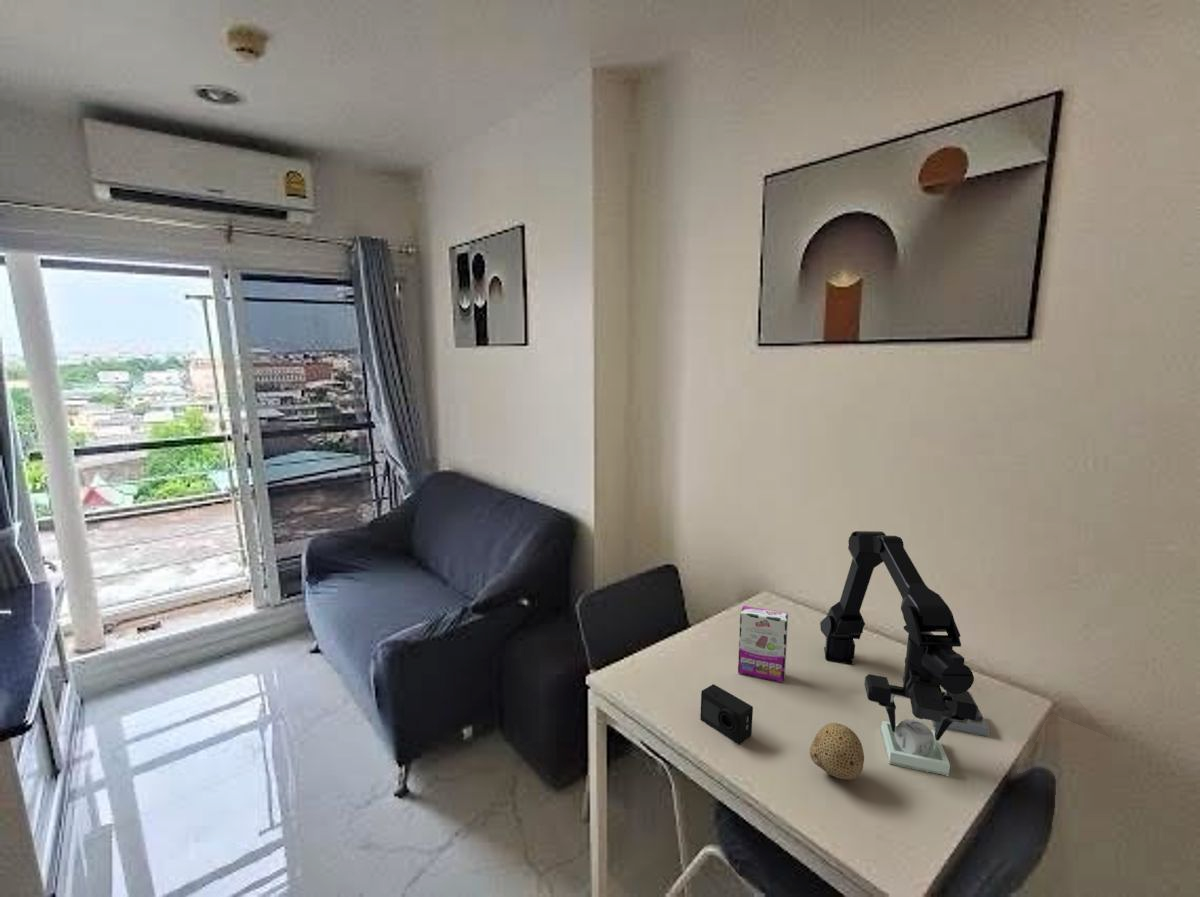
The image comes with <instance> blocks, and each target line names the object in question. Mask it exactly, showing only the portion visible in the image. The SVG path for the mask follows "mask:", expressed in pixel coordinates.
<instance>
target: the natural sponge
mask: <svg viewBox="0 0 1200 897" xmlns="http://www.w3.org/2000/svg"><path fill="white" fill-rule="evenodd" d="M809 755H810V758H811V761H812V762H813V764H815V765H816V766H817V767H818V768H820V769H821V770H823V771H825V773H826V774H829V775H830V776H832V777H833V778H838V779H841V780H842V779H843V780H854V779H857V778H858V777H859V776H860V775H861V774H862V773H863V771H864V762H865V754H864V749H863V745H862V742H861V740H860V738H859V736H858V735H856V733H855V732H854V731H853V730H852V729H851V728H850V727H848V726H847V725H844V724H841V723H838V722H830V723H827V724H825V725H823V727H821V728H820V729H819V730H818V731H817V733H816V735H815V737H814V739H813V741H812V743H811V746H810V748H809Z"/></svg>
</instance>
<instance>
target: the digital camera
mask: <svg viewBox="0 0 1200 897" xmlns="http://www.w3.org/2000/svg"><path fill="white" fill-rule="evenodd" d="M753 713H754V707H753V705H750V704H749V703H747V702H746V701H744V700H742V699H741V698H739V697H737V696H736V695H733V694H732V693H730V692H729V691H727V690H725V689H723V688H722V687H719V686H718V685H716V684H711V685H709V686H708V687H706V688H704V689H702V690H701V694H700V716H699V717H700V721H702V722H703V723H705V724H706V725H708V726H709V727H711V728H712V729H713V730H716V731H717V732H718V733H720V734H722V735H723V737H726V738H727V739H729V740H731V741H732V742H734V743H736V744H737V745H739V746H740V745H741V744H742V743H744V742H746V741H747V740H748V739H749V738H751V737H752V734H753V733H752V730H753V716H754V715H753Z"/></svg>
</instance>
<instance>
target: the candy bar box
mask: <svg viewBox="0 0 1200 897" xmlns="http://www.w3.org/2000/svg"><path fill="white" fill-rule="evenodd" d="M788 619H789V613H788V612H786V611H778V610H773V609H767V608H761V607H754V606H748V605H742V608H741V611H740V614H739V639H738V640H739V641H738V659H737V660H738V662H737V663H738V664H737V673H738V674H739V675H743V676H746V677H747V676H748V677H751V678H752V677H753V678H756V679H758V678H759V679H762V680H767V681H773V682H778V683H783V684H784V682H785V676H786V660H787V645H788V644H787V642H788V623H789V620H788Z"/></svg>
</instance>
